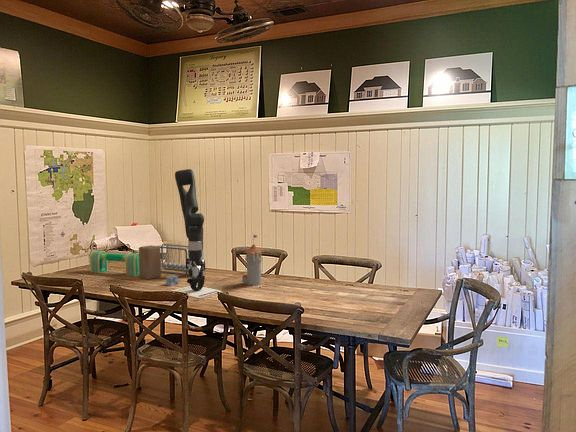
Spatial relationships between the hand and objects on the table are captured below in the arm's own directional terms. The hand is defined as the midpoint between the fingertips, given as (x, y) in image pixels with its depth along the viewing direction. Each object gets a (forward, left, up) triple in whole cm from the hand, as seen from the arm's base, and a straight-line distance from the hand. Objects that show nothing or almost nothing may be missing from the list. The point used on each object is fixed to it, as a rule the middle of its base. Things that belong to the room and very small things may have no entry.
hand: (195, 277), depth 266 cm
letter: (0, 0, -8) cm, 8 cm away
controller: (0, 0, -8) cm, 8 cm away
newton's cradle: (-27, -53, -8) cm, 60 cm away
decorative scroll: (0, -80, -9) cm, 80 cm away
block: (-6, -51, -8) cm, 52 cm away
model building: (-33, +13, -8) cm, 37 cm away
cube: (-2, -24, -8) cm, 25 cm away
